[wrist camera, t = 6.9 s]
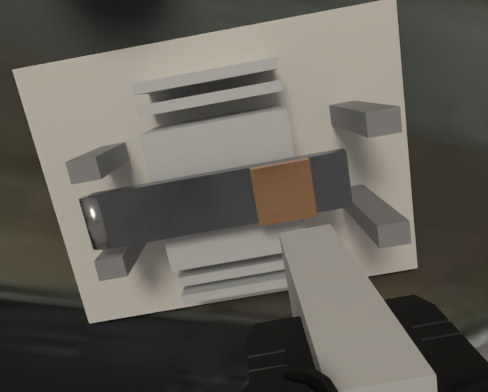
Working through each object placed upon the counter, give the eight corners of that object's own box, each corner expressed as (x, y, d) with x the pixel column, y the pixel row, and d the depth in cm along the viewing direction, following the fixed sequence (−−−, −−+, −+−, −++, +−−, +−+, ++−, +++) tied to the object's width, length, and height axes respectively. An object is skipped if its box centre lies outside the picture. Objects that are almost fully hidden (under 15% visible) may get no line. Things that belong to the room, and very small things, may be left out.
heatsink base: (93, 316, 32) (39, 402, 23) (20, 70, 27) (-82, 63, 19) (411, 262, 31) (479, 330, 22) (390, 0, 27) (464, -41, 18)
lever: (97, 245, 24) (87, 256, 22) (82, 193, 23) (71, 201, 21) (348, 201, 23) (356, 209, 22) (341, 147, 22) (349, 152, 21)
